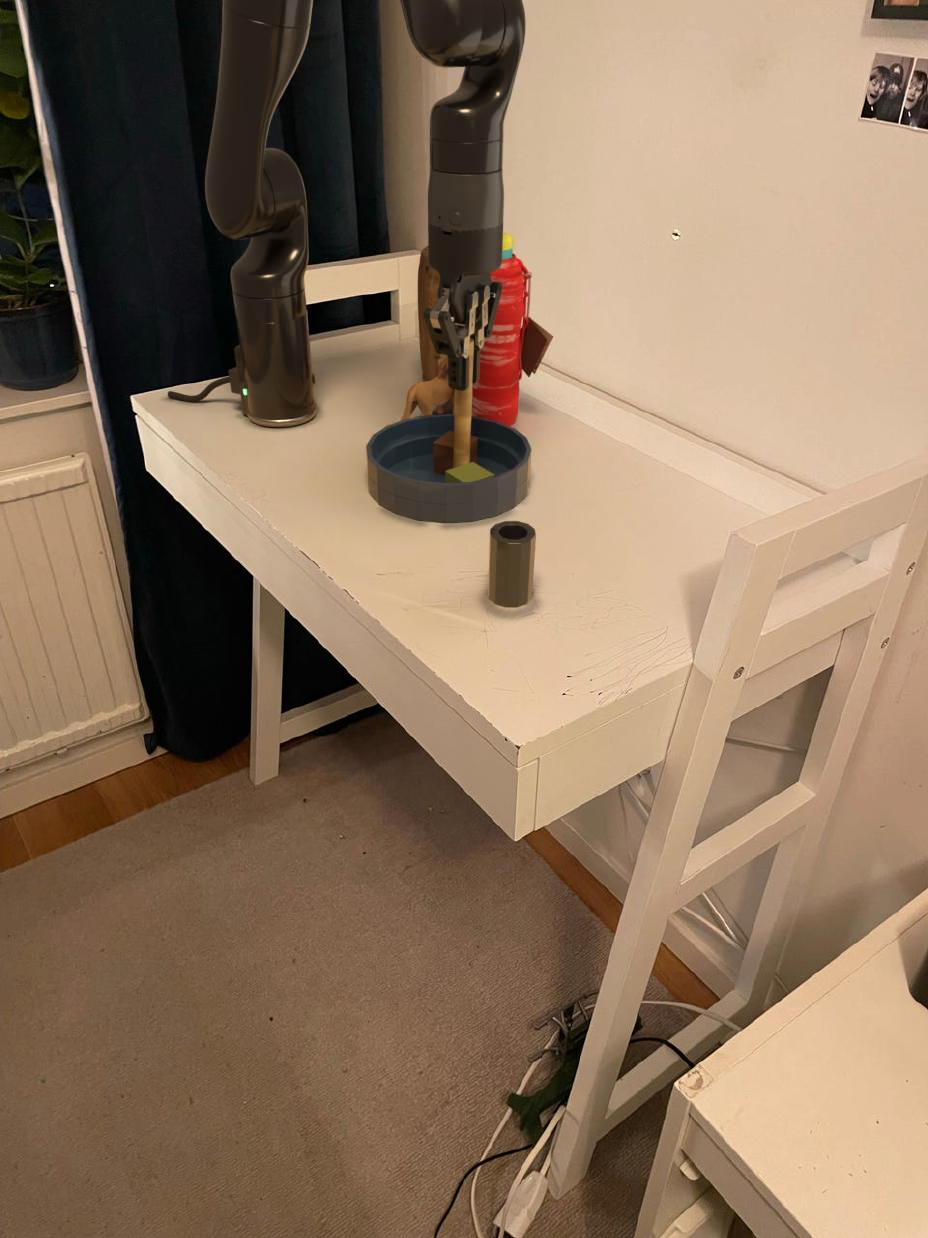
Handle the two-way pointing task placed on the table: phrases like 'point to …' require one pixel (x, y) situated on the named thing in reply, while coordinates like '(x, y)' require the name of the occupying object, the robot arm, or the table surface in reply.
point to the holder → (511, 563)
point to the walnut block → (450, 452)
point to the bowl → (421, 494)
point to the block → (426, 299)
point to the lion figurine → (431, 393)
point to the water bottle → (508, 343)
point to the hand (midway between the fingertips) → (463, 384)
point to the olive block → (467, 473)
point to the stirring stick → (463, 417)
